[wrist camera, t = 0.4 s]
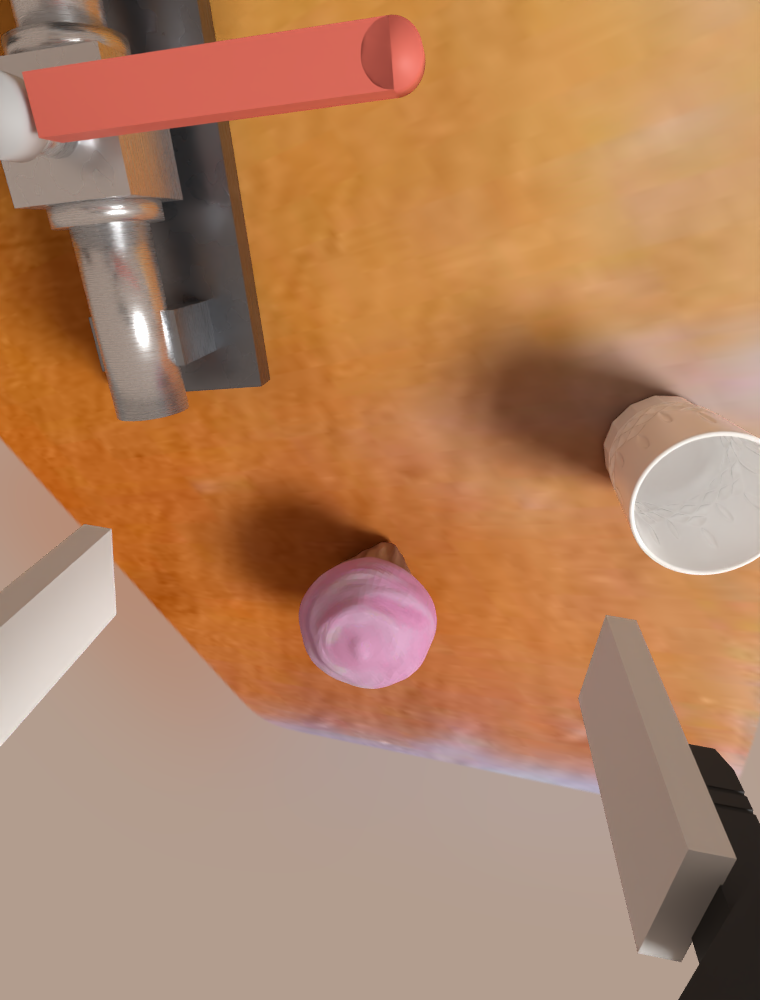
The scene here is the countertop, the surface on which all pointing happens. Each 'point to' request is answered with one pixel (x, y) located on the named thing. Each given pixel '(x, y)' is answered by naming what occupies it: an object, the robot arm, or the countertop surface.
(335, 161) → the countertop surface
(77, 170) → the valve stand
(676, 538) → the white cup
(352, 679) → the cupcake
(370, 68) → the valve lever
